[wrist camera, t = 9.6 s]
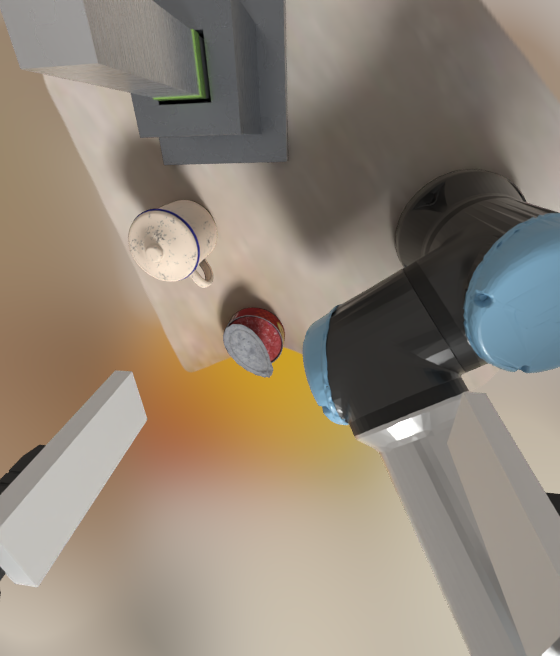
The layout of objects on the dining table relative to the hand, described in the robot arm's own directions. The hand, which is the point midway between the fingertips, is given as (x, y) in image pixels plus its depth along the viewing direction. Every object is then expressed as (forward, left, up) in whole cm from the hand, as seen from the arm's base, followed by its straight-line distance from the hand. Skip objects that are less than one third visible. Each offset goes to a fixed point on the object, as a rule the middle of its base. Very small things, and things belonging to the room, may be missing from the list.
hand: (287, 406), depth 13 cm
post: (+12, -15, -29) cm, 35 cm away
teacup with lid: (+18, +3, -37) cm, 41 cm away
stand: (+12, -15, -37) cm, 41 cm away
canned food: (+10, +19, -37) cm, 43 cm away
